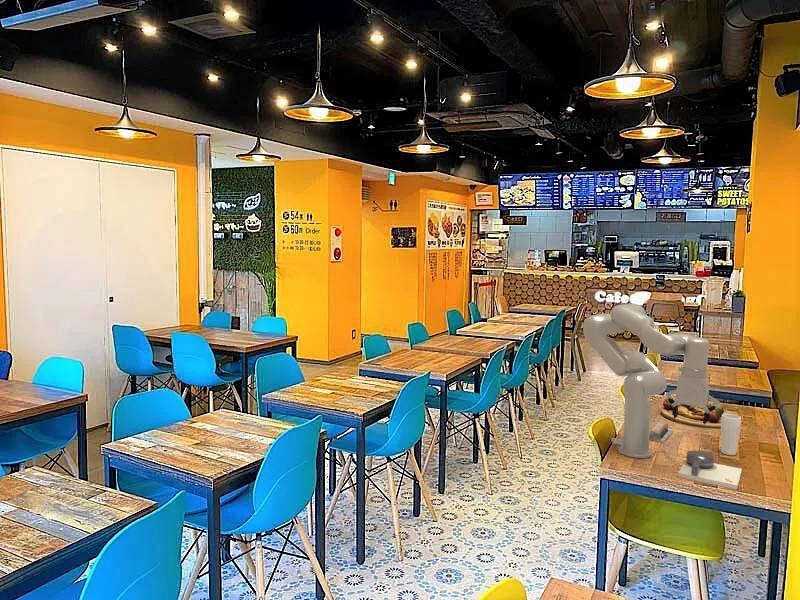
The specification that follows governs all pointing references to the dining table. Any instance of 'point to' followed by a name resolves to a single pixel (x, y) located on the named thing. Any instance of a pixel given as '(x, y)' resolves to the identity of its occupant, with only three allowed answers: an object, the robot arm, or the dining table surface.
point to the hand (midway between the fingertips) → (690, 420)
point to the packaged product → (659, 432)
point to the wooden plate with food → (693, 415)
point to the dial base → (713, 475)
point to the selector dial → (699, 461)
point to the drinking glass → (730, 433)
